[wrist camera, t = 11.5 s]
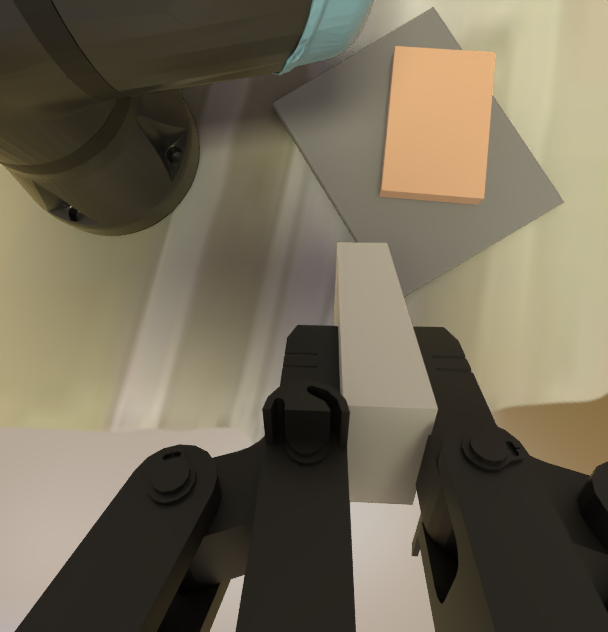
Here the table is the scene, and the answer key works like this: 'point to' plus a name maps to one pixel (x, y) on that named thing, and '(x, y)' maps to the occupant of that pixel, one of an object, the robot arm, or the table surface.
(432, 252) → the mat
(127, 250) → the table surface
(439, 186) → the tile
